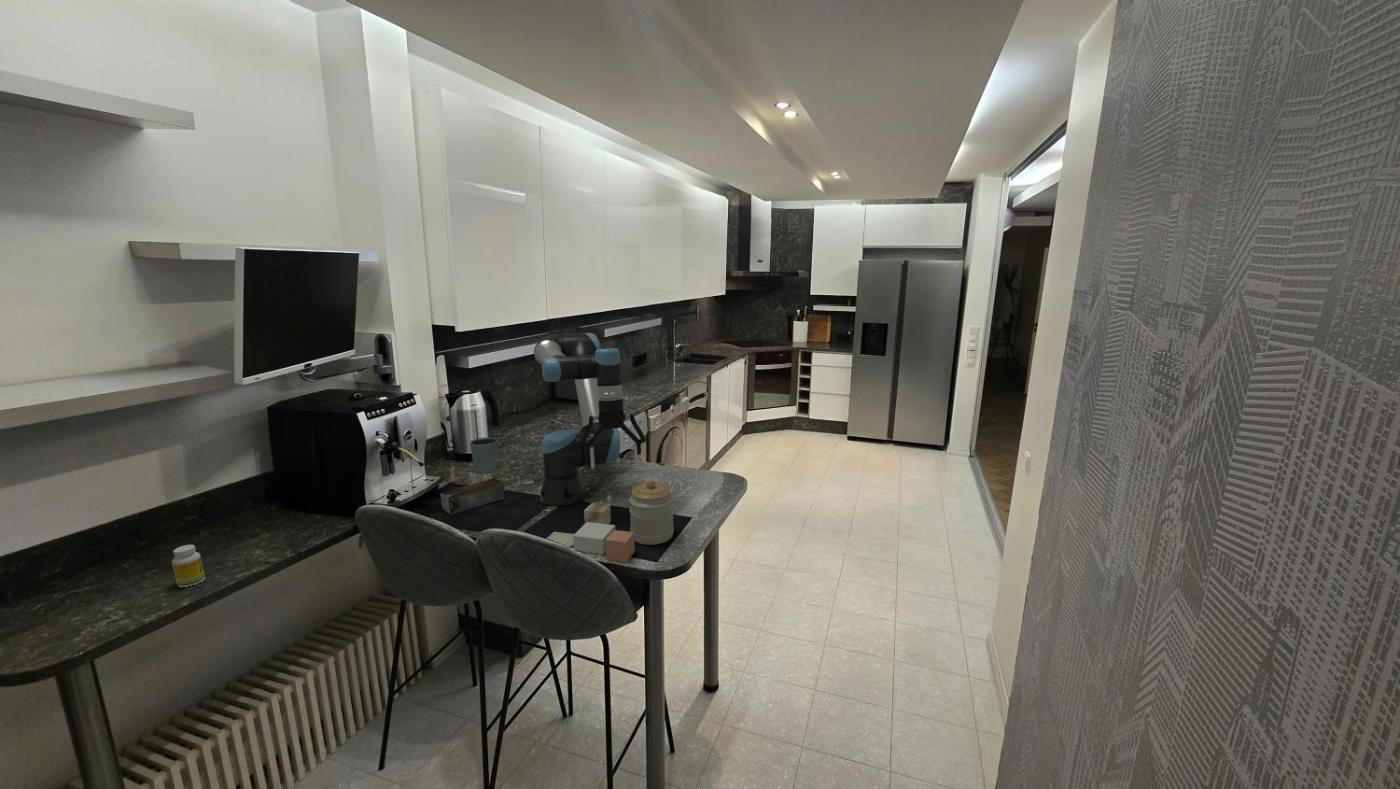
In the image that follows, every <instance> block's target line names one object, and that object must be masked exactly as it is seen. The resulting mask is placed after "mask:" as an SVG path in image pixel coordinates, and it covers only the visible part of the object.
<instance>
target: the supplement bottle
mask: <svg viewBox="0 0 1400 789" xmlns="http://www.w3.org/2000/svg"><path fill="white" fill-rule="evenodd" d="M172 552H173V556H174V558H173V559H172V561H171V564H172V569H173V573H174V577H175V581H176V582H175V583H176V585H177V587H178V586H179V587H178V588H183V587H185V588H189V587H188V586H191V587H193V586H192V585H194V586H196V584H197V585H199V584H201V583H203V582H204V581H205V580H206V573H205V570H204V565H203V561H202V556H201V553H200V552H197V551H196V546H195V545H194V544H185V545H180V546H179V547H177V548H175V549H174V550H173V551H172ZM200 582H201V583H200ZM198 583H199V584H198Z"/></svg>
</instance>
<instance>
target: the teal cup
mask: <svg viewBox="0 0 1400 789" xmlns="http://www.w3.org/2000/svg"><path fill="white" fill-rule="evenodd" d="M469 447H470V452H471V458H472V462H473V471H474V473H476V474H480V475H481V474H482V475H483V474H489V473H493V472H495V471H496V470H497V469H498V461H497V460H498V439H497V438H495V437H479V438H475V439H472V440H470V441H469Z"/></svg>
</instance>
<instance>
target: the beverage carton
mask: <svg viewBox="0 0 1400 789" xmlns="http://www.w3.org/2000/svg"><path fill="white" fill-rule="evenodd" d="M439 494H440V502H441V510H444V512H446V513H447V514H449V515H450V516H453V515H456V514H458V513H462V512H466V511H469V510H473V509H476V508H479V507H483V506H485V505H489V504H491V503H495V502H497V501H498V500H499V501H501V500H504V499H505V489H504V482H502V481H500V480H498V479H496V478H495V477H493V478H488V479H486V480H482V481H479V482H476V483H475V482H474V483H471V484H468V485H464V486H461V487H458V488H454V489H451V490H450V489H449V490H447V491H443V492H440V493H439ZM499 501H498V502H499Z"/></svg>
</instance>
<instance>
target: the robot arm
mask: <svg viewBox="0 0 1400 789" xmlns="http://www.w3.org/2000/svg"><path fill="white" fill-rule="evenodd" d="M533 355H534V359H535V360H536V361H537V363H538V364H540V365H541V372H542V377H543V380H544V381H545V382H548V383H549V382H551V383H552V382H554V383H557V382H565V381H574V383H575V388H576V394H577V399H578V404H579V411H580V415H581V421H582V422H581V423H582V426H581V427H580V429H579V433H577V431H576V430H575V429H569V428H568V429H567V428H565V429H559V430H556V431H552V432H550V433H548V434H546V435H545V436H544V437H543V438H542V441H541V453H542V461H543V462H542V464H543V465H542V466H543V481H542V485H541V487H540V492H539V493H540V494H539V497H540V502H541V503H542V504H544V505H547V506H553V507H554V506H555V507H560V506H561V507H562V506H568V505H572V504H576V503H579V502H580V501H582V500H583V499H584V498H585V495H586V491H585V487H584V485H583V482H582V479H581V478H580V475H579V468H583V467H590V468H591V470H593V469H595V467H596V466H599V465H608V464H611V463H615V462H616V461H618V459H619V457H620V454H621V453H620V451H621V436H620V431H619V430H618V429H619V428H620V429H621V430H622V431H623V432H624V433H625V434H626V435H627V436H628V437H630V439H631V440H632V441H633V442H634V461H635V462H634V464H635V467H638V466H639V455H641V454H642V444H643V443H646V441H647V437H646V436H645V434H644V433H643V431H642V429H641V427H640V425H639V424H638V422H637V420H636V419H635V418H636V417H635V413H634V412H631V413H626V414H625V412H624V410H625V409H624V399H622V398H623V397H624V394H623V382H622V365H621V362H622V359H621V353H620V350H619V348H601V343H600V341H599V338H598V337H597V335H596V334H594V333H592V332H581V333H579V332H578V333H559V334H558V333H556V334H551V335H548V336H545V337H544V338H543V337H542V338H541V339H540V340H539V341H538V342H537V343H536V344H535V345H534V349H533ZM625 419H627V420H628V421H629V422H631V425H632V426H633V428H634V430H635V431H636V433H637V435H638V436H639V438H638V436H637V435H636V434H634V432H633V430H631V429H630V428H629V427H628V426H627V425H626V423H624V422H625Z"/></svg>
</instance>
